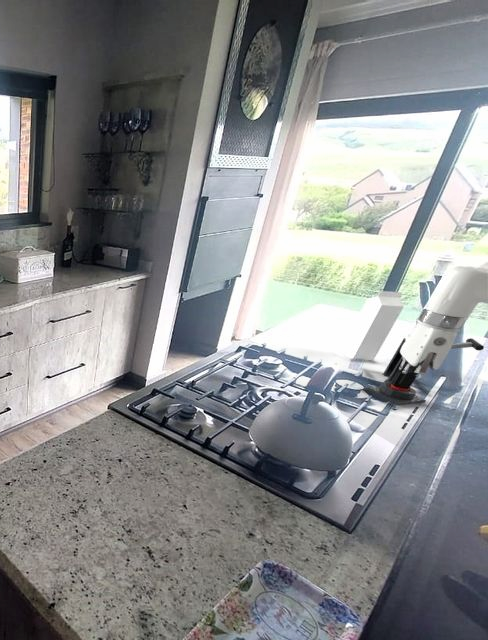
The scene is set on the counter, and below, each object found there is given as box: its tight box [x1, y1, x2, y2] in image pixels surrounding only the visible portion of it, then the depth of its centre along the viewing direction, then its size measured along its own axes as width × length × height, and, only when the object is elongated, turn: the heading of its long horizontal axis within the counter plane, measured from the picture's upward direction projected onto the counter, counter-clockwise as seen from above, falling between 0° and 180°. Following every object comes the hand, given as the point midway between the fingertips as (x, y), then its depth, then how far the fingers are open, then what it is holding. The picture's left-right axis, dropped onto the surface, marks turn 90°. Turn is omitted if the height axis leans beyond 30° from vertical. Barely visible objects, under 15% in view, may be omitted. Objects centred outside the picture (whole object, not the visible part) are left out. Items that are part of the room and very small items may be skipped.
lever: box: [450, 338, 485, 352], centre depth 106 cm, size 13×5×2 cm, turn 63°
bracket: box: [382, 337, 407, 382], centre depth 111 cm, size 11×9×13 cm
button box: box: [365, 380, 427, 411], centre depth 105 cm, size 9×8×4 cm
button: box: [391, 384, 409, 392], centre depth 104 cm, size 3×3×2 cm
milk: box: [340, 290, 405, 361], centre depth 122 cm, size 6×6×22 cm
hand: (399, 386), depth 104 cm, fingers closed
